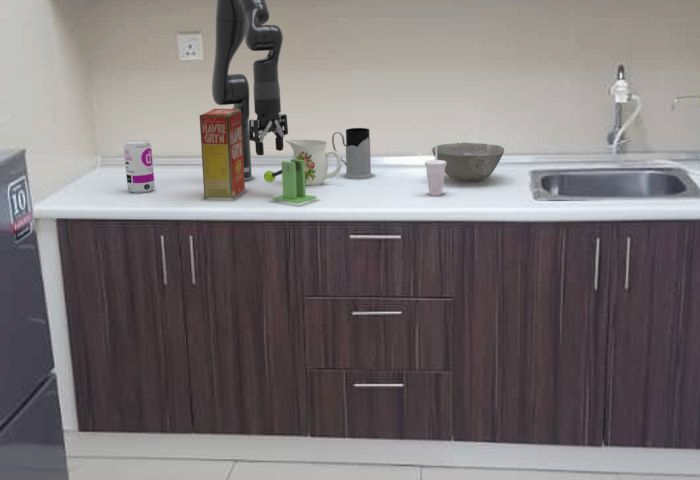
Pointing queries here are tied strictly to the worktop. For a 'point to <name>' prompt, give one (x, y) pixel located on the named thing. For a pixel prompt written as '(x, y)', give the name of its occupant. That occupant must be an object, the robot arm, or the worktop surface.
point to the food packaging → (222, 153)
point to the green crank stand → (293, 183)
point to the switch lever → (276, 173)
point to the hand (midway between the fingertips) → (269, 152)
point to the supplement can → (139, 166)
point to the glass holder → (356, 153)
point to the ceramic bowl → (469, 160)
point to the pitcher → (314, 159)
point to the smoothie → (435, 175)
